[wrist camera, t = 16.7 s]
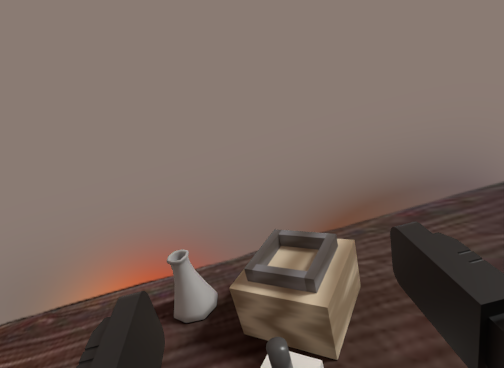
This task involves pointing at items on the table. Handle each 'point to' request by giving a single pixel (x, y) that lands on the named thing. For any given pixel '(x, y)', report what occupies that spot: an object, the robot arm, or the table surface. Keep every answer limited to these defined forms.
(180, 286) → the flask
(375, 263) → the table surface
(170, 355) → the table surface
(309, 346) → the upper dock
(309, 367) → the plug
